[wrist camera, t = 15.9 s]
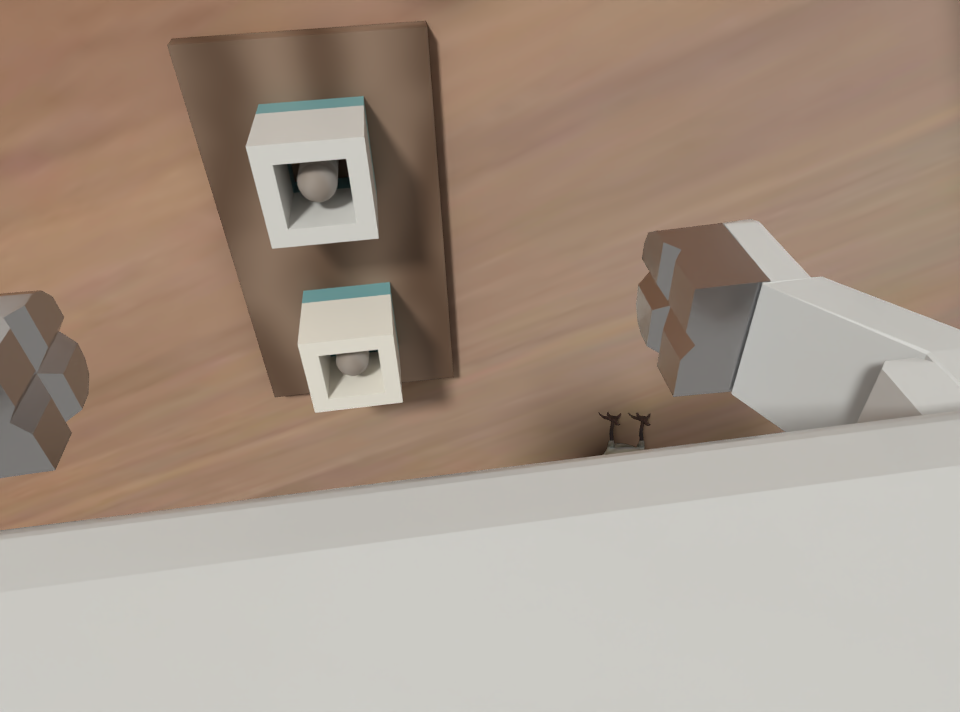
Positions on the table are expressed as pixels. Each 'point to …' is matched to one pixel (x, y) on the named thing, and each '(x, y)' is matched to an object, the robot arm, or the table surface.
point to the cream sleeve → (350, 346)
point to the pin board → (327, 182)
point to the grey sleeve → (311, 138)
